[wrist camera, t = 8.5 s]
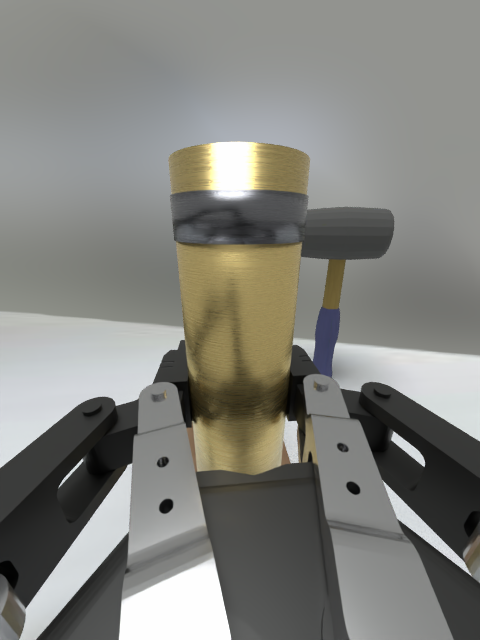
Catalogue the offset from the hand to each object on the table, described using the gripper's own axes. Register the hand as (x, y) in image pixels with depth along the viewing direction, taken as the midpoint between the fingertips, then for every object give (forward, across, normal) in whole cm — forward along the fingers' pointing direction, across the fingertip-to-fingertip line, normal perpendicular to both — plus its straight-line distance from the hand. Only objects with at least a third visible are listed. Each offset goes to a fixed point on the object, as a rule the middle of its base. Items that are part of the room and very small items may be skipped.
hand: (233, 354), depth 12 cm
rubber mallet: (+26, -18, +22) cm, 38 cm away
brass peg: (-3, 0, +10) cm, 10 cm away
